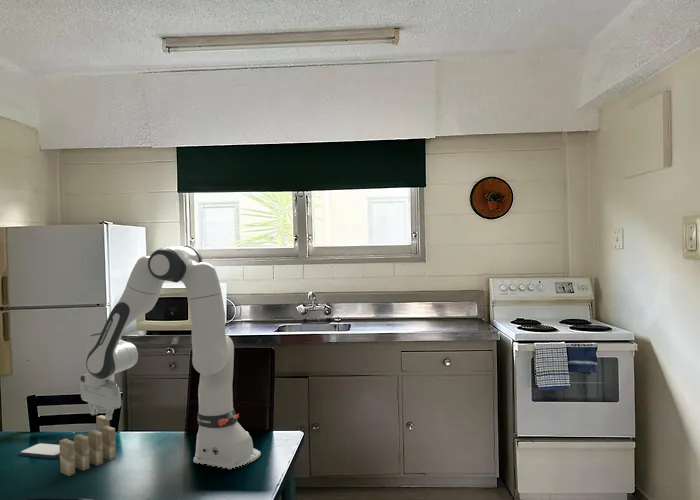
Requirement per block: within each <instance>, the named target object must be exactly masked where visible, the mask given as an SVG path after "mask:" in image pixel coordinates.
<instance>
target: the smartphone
mask: <svg viewBox="0 0 700 500" xmlns="http://www.w3.org/2000/svg"><path fill="white" fill-rule="evenodd" d="M19 456H23V457H30V456H31V457H32V458H38V457H39V458H40V459H48V460H49V459H50V460H56V459H60V446H59V444H55V443H54V444H52V443H41V442H40V443H36V444H34V445H32V446H30V447H27V448H25V449H23V450H20V451H19ZM31 457H30V458H31Z"/></svg>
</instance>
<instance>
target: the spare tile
mask: <svg viewBox="0 0 700 500" xmlns="http://www.w3.org/2000/svg"><path fill="white" fill-rule="evenodd" d="M95 418H96V420H95V422H96V427H95V428H96V431H99V432H101V427H104V426H110V425H111V424H110V420H106V419H105V415H102V414H101V415H96V417H95ZM110 427H111V426H110Z"/></svg>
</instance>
